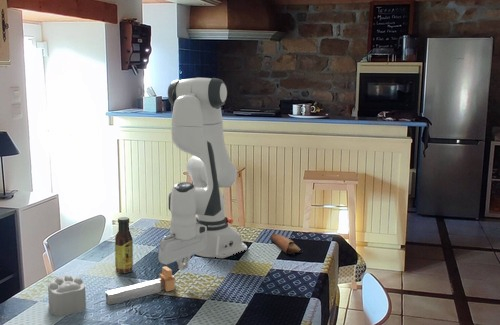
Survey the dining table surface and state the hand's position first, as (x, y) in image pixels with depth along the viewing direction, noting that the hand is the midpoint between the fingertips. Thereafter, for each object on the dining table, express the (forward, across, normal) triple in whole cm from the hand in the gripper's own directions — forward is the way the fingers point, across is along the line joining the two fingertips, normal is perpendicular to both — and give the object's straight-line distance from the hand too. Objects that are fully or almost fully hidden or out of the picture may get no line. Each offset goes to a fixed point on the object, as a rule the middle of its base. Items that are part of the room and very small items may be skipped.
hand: (183, 268), depth 186 cm
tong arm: (+6, -18, +4) cm, 19 cm away
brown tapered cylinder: (+6, +55, -6) cm, 56 cm away
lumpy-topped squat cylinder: (+6, -35, +16) cm, 39 cm away
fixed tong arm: (+6, -14, +5) cm, 16 cm away
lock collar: (+6, -6, +2) cm, 8 cm away
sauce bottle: (+6, -6, +24) cm, 26 cm away
